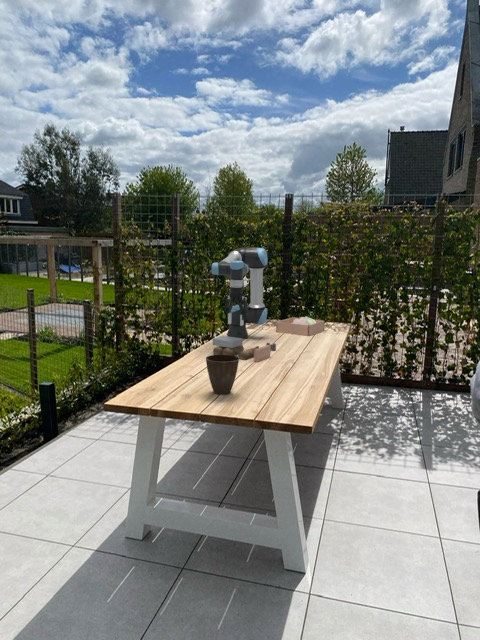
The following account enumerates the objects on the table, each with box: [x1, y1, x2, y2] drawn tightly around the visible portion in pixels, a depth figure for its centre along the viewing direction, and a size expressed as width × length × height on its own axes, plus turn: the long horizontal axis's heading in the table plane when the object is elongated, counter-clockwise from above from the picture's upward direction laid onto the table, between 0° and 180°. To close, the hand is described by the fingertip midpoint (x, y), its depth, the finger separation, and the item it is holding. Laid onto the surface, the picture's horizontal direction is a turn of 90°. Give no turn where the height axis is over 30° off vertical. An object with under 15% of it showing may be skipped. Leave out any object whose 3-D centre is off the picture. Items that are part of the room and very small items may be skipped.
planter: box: [275, 316, 326, 337], centre depth 384 cm, size 30×27×8 cm
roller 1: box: [212, 346, 227, 355], centre depth 302 cm, size 16×5×5 cm, turn 149°
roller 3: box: [238, 346, 258, 361], centre depth 293 cm, size 16×5×5 cm, turn 149°
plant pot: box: [205, 354, 240, 396], centre depth 221 cm, size 15×15×16 cm
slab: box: [212, 335, 244, 348], centre depth 300 cm, size 12×14×4 cm
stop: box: [253, 345, 271, 363], centre depth 288 cm, size 16×2×7 cm, turn 149°
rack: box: [255, 342, 277, 352], centre depth 307 cm, size 16×6×4 cm, turn 149°
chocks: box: [212, 353, 254, 361], centre depth 298 cm, size 16×23×1 cm
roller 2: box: [222, 344, 245, 356], centre depth 299 cm, size 16×5×5 cm, turn 149°
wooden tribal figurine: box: [293, 315, 316, 325], centre depth 385 cm, size 14×14×24 cm
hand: (235, 324), depth 296 cm, fingers open, 8 cm apart
